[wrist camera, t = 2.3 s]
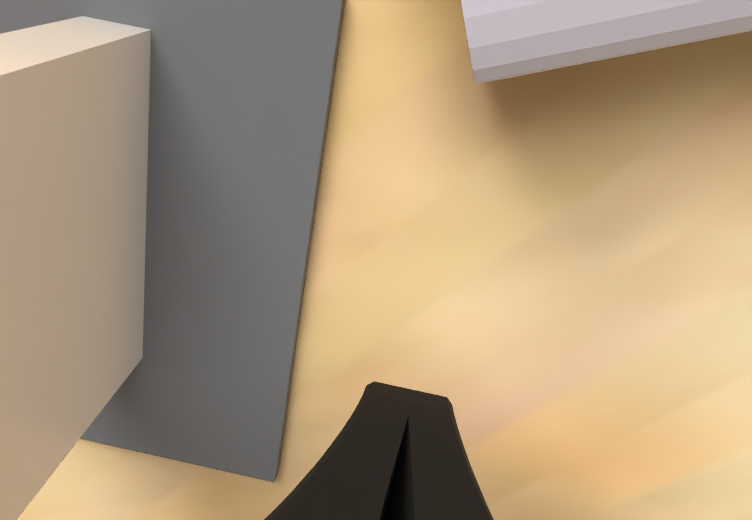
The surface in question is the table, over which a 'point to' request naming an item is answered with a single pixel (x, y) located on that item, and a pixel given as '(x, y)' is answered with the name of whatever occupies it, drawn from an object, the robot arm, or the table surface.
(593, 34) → the charger
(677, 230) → the table surface
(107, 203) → the tile
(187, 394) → the mat
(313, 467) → the robot arm
